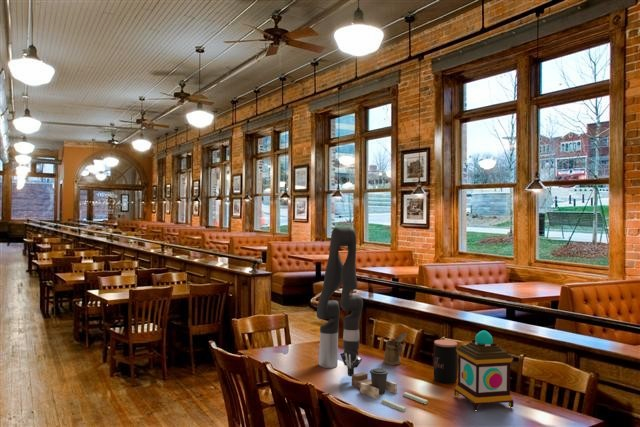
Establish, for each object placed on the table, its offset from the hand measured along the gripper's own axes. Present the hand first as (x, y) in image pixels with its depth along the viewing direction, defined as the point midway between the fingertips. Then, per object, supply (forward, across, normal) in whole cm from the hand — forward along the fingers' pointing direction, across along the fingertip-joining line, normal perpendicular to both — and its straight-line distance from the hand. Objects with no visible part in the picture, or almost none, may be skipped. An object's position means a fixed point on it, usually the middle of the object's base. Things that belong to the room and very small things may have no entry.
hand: (350, 375), depth 234 cm
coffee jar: (+3, +25, +37) cm, 45 cm away
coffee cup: (+3, +18, 0) cm, 18 cm away
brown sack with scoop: (+3, -7, +37) cm, 38 cm away
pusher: (+2, +9, 0) cm, 9 cm away
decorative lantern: (+3, +52, +27) cm, 59 cm away
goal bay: (+3, +33, 0) cm, 33 cm away
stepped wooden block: (+3, +18, 0) cm, 18 cm away
